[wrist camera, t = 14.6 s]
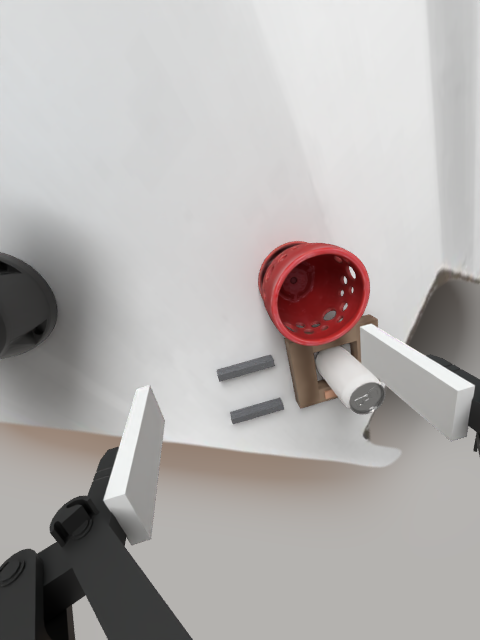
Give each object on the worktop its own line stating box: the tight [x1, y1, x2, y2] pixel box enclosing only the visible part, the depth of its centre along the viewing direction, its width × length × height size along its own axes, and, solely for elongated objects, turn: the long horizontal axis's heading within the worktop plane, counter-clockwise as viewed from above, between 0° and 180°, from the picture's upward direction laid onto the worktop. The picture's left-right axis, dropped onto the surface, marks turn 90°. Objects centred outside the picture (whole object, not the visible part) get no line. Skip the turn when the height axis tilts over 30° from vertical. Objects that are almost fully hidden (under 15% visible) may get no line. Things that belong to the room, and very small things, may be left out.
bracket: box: [217, 355, 284, 424], centre depth 50 cm, size 10×11×2 cm
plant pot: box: [258, 241, 370, 346], centre depth 39 cm, size 13×13×12 cm
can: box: [315, 346, 385, 414], centre depth 45 cm, size 6×6×12 cm
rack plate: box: [284, 314, 380, 409], centre depth 50 cm, size 16×14×3 cm
